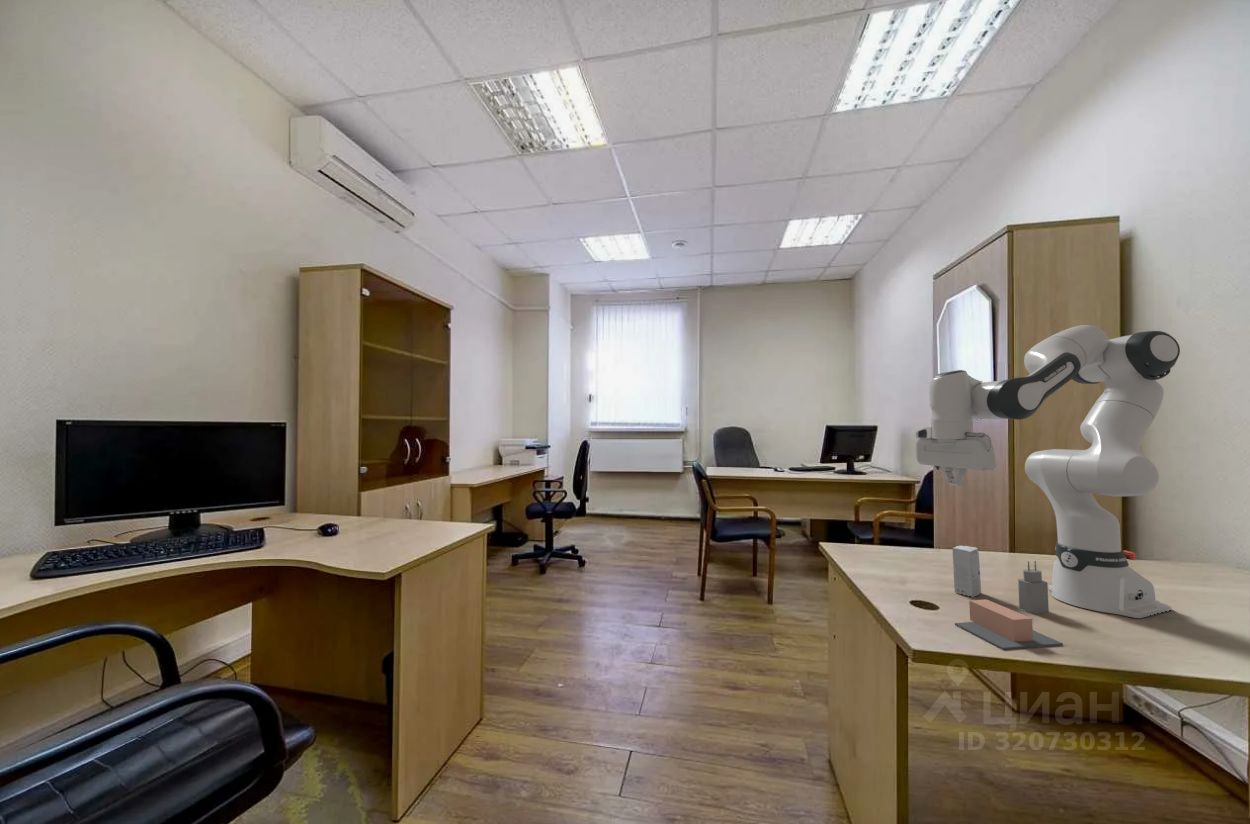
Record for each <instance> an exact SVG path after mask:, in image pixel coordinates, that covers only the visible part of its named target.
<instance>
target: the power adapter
mask: <svg viewBox="0 0 1250 824" xmlns="http://www.w3.org/2000/svg"><path fill="white" fill-rule="evenodd" d="M1033 564H1034V569H1033V568H1030V561H1029V560H1027V569H1022V575H1023V576H1022V578H1018V579H1017V580H1018V581H1017V582H1018V583H1017V584H1018V585H1017V587H1018V609H1019V608H1020V609H1019V610H1021V609H1023V610H1025V611H1024V612H1026V611H1027V612H1026V613H1028V612H1030V613H1029V614H1045V612H1048V613H1049V612H1050V611H1049V610H1050V609H1049V585H1048V581H1046V580H1042V579H1043V577H1042V571H1041V570H1039V569H1037V560H1034V563H1033ZM1023 610H1022V611H1023Z"/></svg>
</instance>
